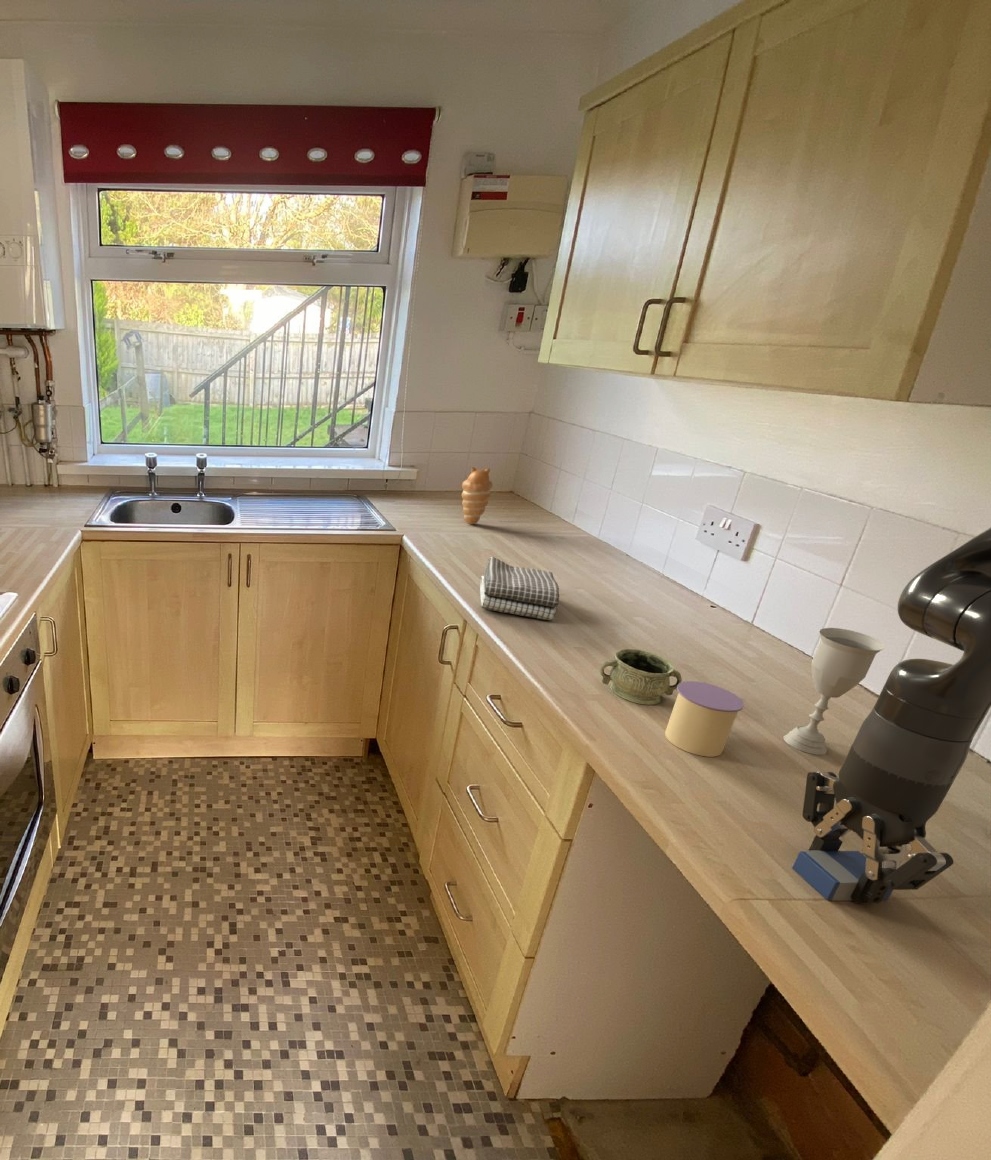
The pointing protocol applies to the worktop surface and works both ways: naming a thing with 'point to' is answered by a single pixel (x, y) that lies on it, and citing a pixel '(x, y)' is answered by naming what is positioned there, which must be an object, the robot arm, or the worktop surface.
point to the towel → (519, 590)
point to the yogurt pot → (702, 718)
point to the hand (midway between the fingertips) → (839, 881)
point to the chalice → (834, 679)
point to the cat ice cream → (476, 494)
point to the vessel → (640, 676)
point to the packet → (832, 872)
